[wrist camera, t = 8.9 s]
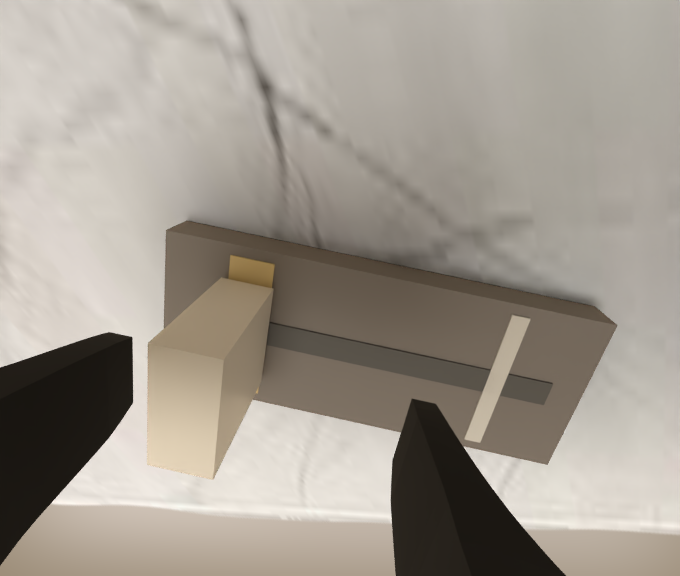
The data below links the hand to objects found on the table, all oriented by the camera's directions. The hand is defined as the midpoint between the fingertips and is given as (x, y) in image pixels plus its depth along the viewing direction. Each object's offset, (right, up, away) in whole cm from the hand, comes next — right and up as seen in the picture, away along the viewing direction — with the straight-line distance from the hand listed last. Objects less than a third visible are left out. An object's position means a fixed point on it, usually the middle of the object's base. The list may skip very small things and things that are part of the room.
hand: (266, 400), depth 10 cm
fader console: (+3, 0, +11) cm, 11 cm away
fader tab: (-3, +1, +9) cm, 9 cm away
